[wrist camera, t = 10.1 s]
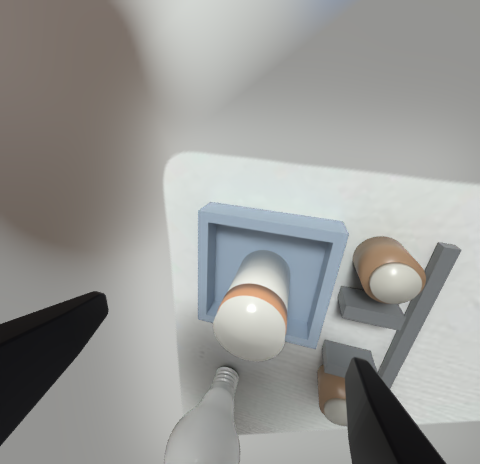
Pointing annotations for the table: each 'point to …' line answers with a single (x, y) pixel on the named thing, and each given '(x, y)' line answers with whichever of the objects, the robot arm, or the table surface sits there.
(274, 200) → the table surface
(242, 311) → the cylinder
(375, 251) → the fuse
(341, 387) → the cylinder
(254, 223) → the tray
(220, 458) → the lightbulb
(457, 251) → the grey bar and blocks
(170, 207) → the table surface
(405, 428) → the robot arm
